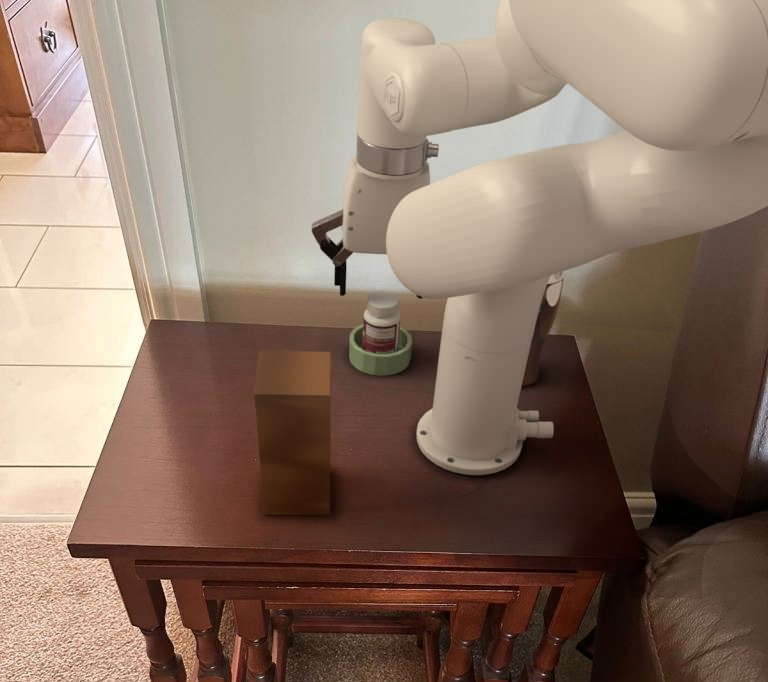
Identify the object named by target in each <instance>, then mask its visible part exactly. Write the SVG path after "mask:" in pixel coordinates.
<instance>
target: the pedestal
mask: <svg viewBox="0 0 768 682" xmlns="http://www.w3.org/2000/svg"><path fill="white" fill-rule="evenodd" d="M331 357H332V353H331V351H304V350H303V351H302V350H301V351H298V350H297V351H296V350H259V351H258V358H257V366H256V373H255V374H256V375H255V382H254V389H253V390H254V391H253V398H254V410H255V423H256V435H257V436H256V437H257V445H258V446H257V447H258V458H259V470H260V483H261V493H262V495H261V496H262V508H263V515H264V516H330V515H331V406H332V405H331V404H332V403H331V394H332V393H331V391H332V390H331V389H332V388H331V387H332V386H331V383H332V382H331V379H332V377H331V376H332V375H331V373H332V371H331V370H332V368H331V366H332V362H331V361H332V358H331Z"/></svg>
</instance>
